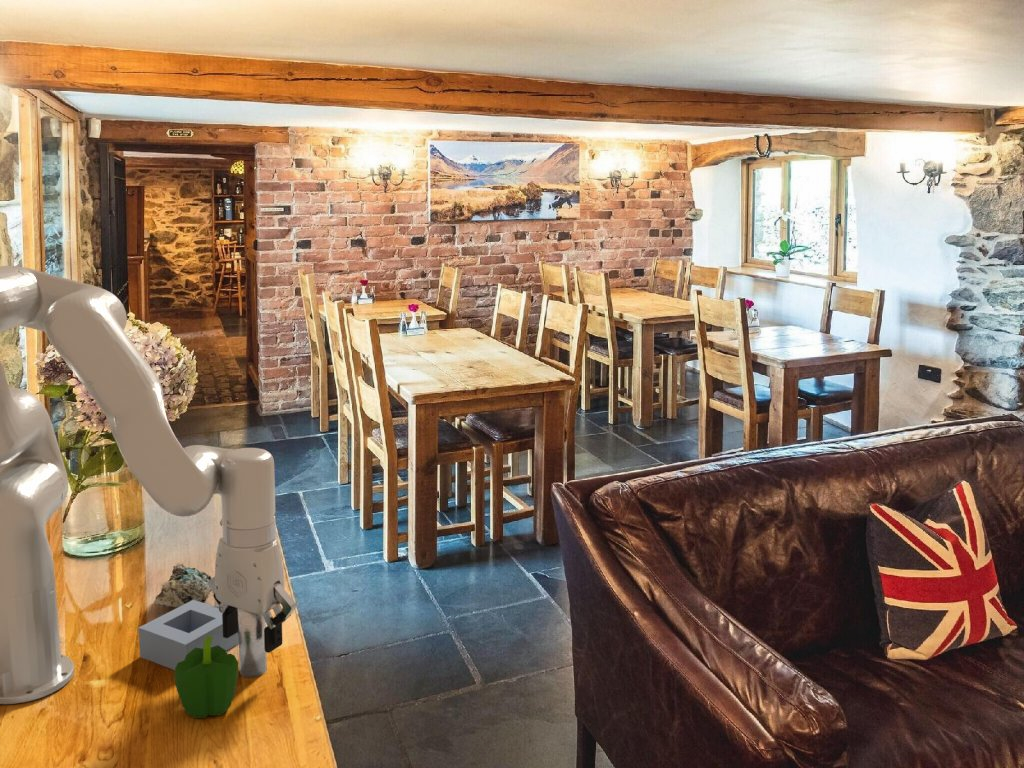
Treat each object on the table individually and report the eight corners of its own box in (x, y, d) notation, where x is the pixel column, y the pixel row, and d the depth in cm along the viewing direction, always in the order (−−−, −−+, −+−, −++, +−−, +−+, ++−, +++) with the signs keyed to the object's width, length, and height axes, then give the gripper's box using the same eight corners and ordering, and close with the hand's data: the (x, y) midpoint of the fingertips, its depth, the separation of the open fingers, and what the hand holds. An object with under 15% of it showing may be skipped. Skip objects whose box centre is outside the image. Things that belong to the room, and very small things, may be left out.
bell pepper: (222, 730, 119) (219, 663, 117) (166, 721, 121) (162, 655, 118) (250, 696, 127) (248, 633, 125) (197, 688, 129) (195, 626, 127)
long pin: (253, 680, 132) (251, 606, 129) (233, 672, 133) (231, 599, 131) (272, 667, 135) (270, 595, 132) (252, 660, 137) (250, 589, 134)
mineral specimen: (207, 615, 149) (212, 567, 150) (149, 613, 147) (155, 565, 148) (214, 607, 161) (219, 562, 162) (161, 605, 159) (166, 560, 160)
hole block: (186, 674, 132) (185, 644, 131) (140, 657, 137) (138, 627, 135) (239, 643, 142) (239, 614, 141) (194, 627, 146) (193, 599, 145)
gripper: (186, 528, 130) (191, 637, 134) (277, 553, 122) (280, 668, 126) (224, 512, 136) (227, 617, 140) (312, 536, 129) (314, 645, 133)
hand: (252, 640), depth 133 cm, fingers open, 7 cm apart
